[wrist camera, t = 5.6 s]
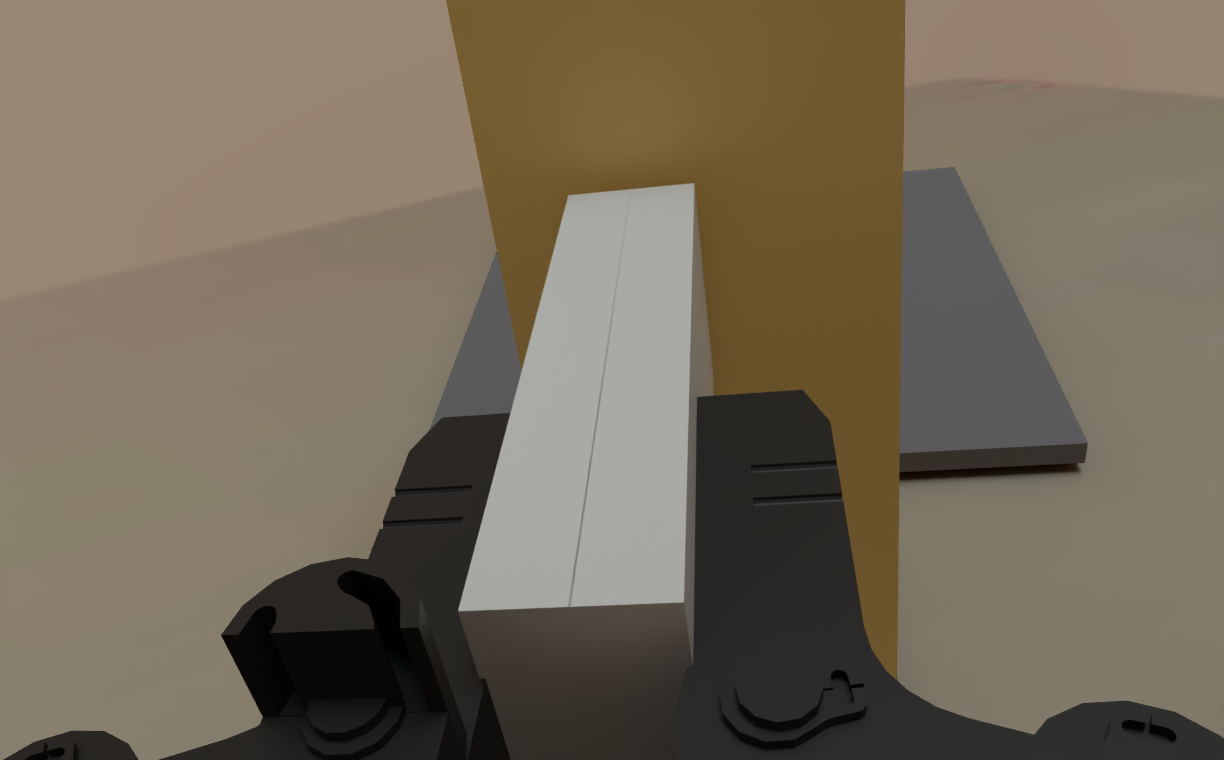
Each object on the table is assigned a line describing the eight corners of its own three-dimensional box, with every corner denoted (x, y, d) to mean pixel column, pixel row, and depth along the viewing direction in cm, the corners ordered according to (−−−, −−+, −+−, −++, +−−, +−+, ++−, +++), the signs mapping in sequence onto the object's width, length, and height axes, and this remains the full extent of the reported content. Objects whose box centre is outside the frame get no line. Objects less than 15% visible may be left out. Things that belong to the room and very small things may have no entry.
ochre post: (860, 501, 21) (850, -339, 14) (896, 693, 16) (911, -389, 9) (614, 512, 21) (486, -279, 14) (587, 700, 17) (385, -301, 10)
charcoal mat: (953, 182, 32) (954, 166, 32) (1085, 463, 21) (1087, 443, 20) (516, 221, 34) (513, 207, 34) (416, 496, 23) (410, 479, 22)
